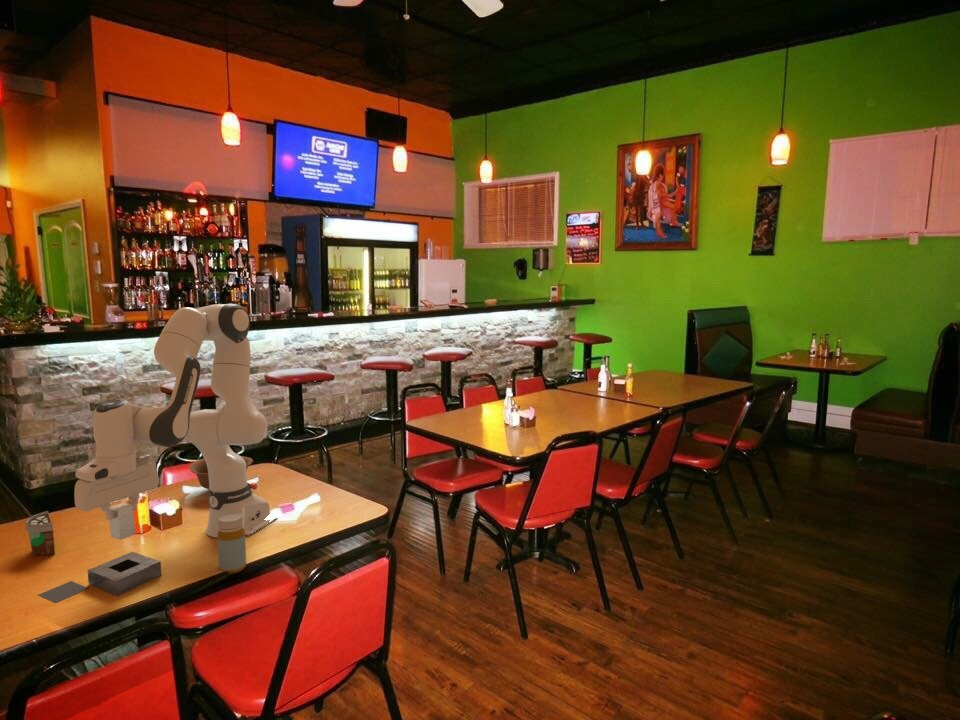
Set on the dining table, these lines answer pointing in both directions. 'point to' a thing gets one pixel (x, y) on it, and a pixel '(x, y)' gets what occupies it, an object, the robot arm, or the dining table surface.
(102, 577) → the socket block
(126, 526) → the steel plug
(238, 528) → the bottle
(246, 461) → the bowl
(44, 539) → the food container
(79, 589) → the rubber pad
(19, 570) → the dining table surface
